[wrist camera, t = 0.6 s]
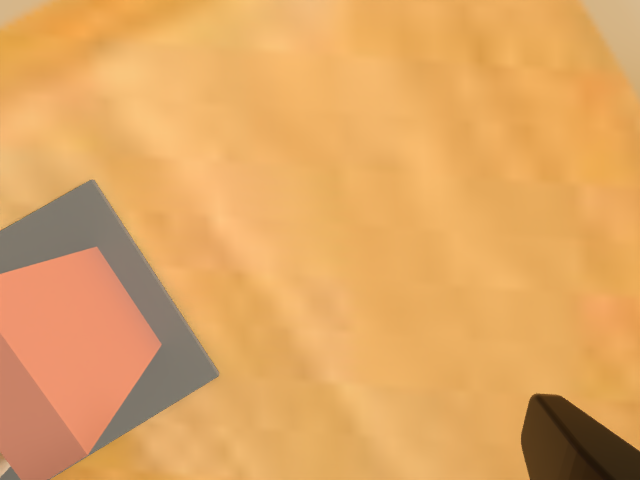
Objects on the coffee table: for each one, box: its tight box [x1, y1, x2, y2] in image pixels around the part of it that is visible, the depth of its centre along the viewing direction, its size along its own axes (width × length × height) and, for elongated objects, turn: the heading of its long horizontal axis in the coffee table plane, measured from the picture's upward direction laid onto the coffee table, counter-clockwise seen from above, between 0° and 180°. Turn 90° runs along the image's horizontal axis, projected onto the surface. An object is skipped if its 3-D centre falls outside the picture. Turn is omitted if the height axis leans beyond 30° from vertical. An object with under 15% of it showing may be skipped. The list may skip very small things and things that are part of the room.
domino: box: [0, 247, 162, 480], centre depth 16 cm, size 2×5×9 cm, turn 30°
